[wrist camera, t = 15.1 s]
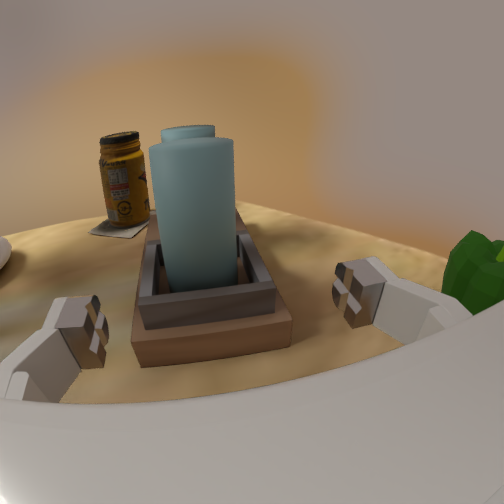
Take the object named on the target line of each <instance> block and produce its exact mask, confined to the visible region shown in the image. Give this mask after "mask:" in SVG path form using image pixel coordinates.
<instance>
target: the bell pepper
mask: <svg viewBox="0 0 504 504" xmlns="http://www.w3.org/2000/svg"><path fill="white" fill-rule="evenodd" d="M441 293H443V294H445V295H448V296H451V297H453V298H456V299H457V300H458V301H459V302H460V303H461V304H462V305H463V306H464V307H465V308H466V309H467V310H468V311H469V312H470V313H471V314H472V315H473V316H474V315H476V314H478V313H480V312H482V311H484V310H486V309H488V308H489V307H491V306H493V305H495V304H497V303H499V302H501V301H502V300H504V241H501V240H496V241H494V242H491V241H490V240H488V239H487V238H486V237H485V236H484V235H483V234H480V233H478V232H475V231H472V230H471V231H470V232H469V233H468V234H467V235H466V236H465V237H464V238H463V239H462V240H461V241H460V242H459V243H458V244H457V245H456V246H455V247H454V249H453V250H452V251H451V252H450V256H449V259H448V262H447V265H446V268H445V272H444V276H443V284H442V291H441Z"/></svg>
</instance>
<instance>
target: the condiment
mask: <svg viewBox="0 0 504 504" xmlns="http://www.w3.org/2000/svg"><path fill="white" fill-rule="evenodd" d="M100 146H101V149H100V153H101V157H100V160H99V165H100V172H101V179H102V186H103V192H104V197H105V202H106V208H107V213H108V219H107V220H105V221H103V222H102V223H101V224H99V225H98V226H97V227H95V228H93V229H92V230H91V231H89V232H88V233H92V234H97V235H103V236H111V237H122V238H123V237H126V238H132V237H133V236H134V235H135V234H136V233H137V232H138V231H139V230H141V229H142V228H143V227H144V226H146V225H147V224H148V223H149V219H150V215H153V214H156V211H154V210H152V211H150V206H149V197H148V188H147V180H146V172H145V163H144V155H143V152H142V150H141V149H140V141H139V132H136V131H130V132H122V133H117V134H112V135H108V136H105V137H102V138H101V139H100ZM128 229H129V230H128ZM125 230H126V231H125Z"/></svg>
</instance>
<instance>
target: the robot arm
mask: <svg viewBox="0 0 504 504" xmlns="http://www.w3.org/2000/svg"><path fill="white" fill-rule="evenodd" d="M335 274H336V276H337V277H338V278H337V279H336V281H335V282H334V283H333V288H332V296H333V300H334V303H335V305H336V306H337V308H338V309H340V310H342V311H344V312H345V313H344V318H345V319H346V321H347V322H348V324H349V325H350V326H351V328H352V329H354V328H359V327H363V326H367V325H371V324H373V326H375V327H376V328H378V329H380V330H381V331H383V332H385V333H386V334H388V335H389V336H391V337H393V338H394V339H396V340H398V341H399V342H401V343H403V344H404V345H405V346H402V347H400V348H397V349H394V350H391V351H389V352H386V353H383V354H380V355H377V356H374V357H371V358H368V359H365V360H362V361H359V362H356V363H353V364H349V365H346V366H343V367H339V368H336V369H332V370H329V371H325V372H321V373H318V374H314V375H310V376H306V377H302V378H298V379H294V380H290V381H285V382H281V383H276V384H272V385H267V386H262V387H257V388H252V389H246V390H241V391H235V392H229V393H223V394H216V395H209V396H202V397H194V398H186V399H176V400H166V401H154V402H139V403H117V404H70V403H59V401H60V400H61V398H62V397H63V395H64V394H65V393H66V391H67V390H68V389H69V387H70V386H71V384H72V383H73V382H74V380H75V379H76V378H77V376H78V375H79V373H80V372H81V369H96V368H104V364H105V357H106V351H105V349H104V346H105V345H106V344H107V343H108V339H109V330H108V324H107V320H106V318H105V315H103V314H102V313H101V312H100V311H99V309H100V305H101V304H100V302H99V300H98V297H97V296H96V295H83V296H70V297H59V298H56V299H54V301H53V303H52V305H51V308H50V310H49V312H48V315H47V317H46V319H45V322H44V324H43V326H42V329H41V330H37V331H36V332H34V333H33V334H32V335H31V336H30V337H29V338H27V339H26V340H25V341H24V342H23V343H22V344H21V345H19V346H18V347H17V348H16V349H15V350H14V351H13V352H12V353H10V354H9V355H8V356H7V357H6V358H5V359H4V360H3V361H2V362H1V363H0V504H504V300H502V301H501V302H499V303H497V304H495V305H493V306H491V307H489V308H488V309H486V310H484V311H482V312H480V313H478V314H476V315H474V316H473V315H472V314H471V313H470V312H469V311H468V310H467V309H466V308H465V307H464V306H463V305H462V304H461V303H460V302H459V301H458V300H457V299H456V298H453V297H451V296H448V295H445V294H443V293H440V292H438V291H435V290H433V289H430V288H427V287H425V286H422V285H420V284H417V283H414V282H412V281H409V280H406V279H404V278H402V279H399V278H398V277H397V276H396V275H395V274H394V273H393V272H392V271H391V270H390V269H389V268H388V267H387V266H386V265H385V264H384V263H383V262H381V261H380V260H379V259H378V258H377V257H374V256H372V257H367V258H362V259H358V260H353V261H347V262H341V263H338V264H337V266H336V270H335Z"/></svg>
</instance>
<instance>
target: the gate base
mask: <svg viewBox="0 0 504 504" xmlns="http://www.w3.org/2000/svg"><path fill="white" fill-rule="evenodd" d="M202 137H215V126H213V125H191V126H181V127H173V128H168V129H164V130H161V140H162V143H163V142H168V141H173V140H180V139H188V138H202ZM235 216H236V244H237V269H238V285H235V286H228V287H220V288H212V289H204V290H196V291H188V292H180V293H170V290H169V285H168V279H167V274H166V269H165V264H164V258H163V252H162V246H161V240H160V234H159V228H158V221H157V215H156V214H153V215H150V219H149V224H148V229H147V234H146V239H145V245H144V250H143V256H142V261H141V267H140V274H139V280H138V287H137V293H136V301H135V308H134V316H133V325H132V334H131V344H132V346H133V349H134V351H135V354H136V356H137V359H138V361H139V364H140V366H141V368H143V367H155V366H165V365H175V364H184V363H192V362H200V361H208V360H215V359H222V358H228V357H235V356H241V355H247V354H253V353H258V352H264V351H269V350H275V349H280V348H285V347H289V346H290V339H291V331H292V322H293V319H292V317H291V315H290V313H289V311H288V309H287V307H286V305H285V303H284V301H283V299H282V297H281V296H280V294H279V292H278V290H277V288H276V286H275V284H274V282H273V280H272V278H271V276H270V274H269V272H268V270H267V268H266V266H265V264H264V262H263V260H262V258H261V256H260V254H259V252H258V250H257V248H256V246H255V244H254V242H253V240H252V238H251V236H250V235H249V233H248V231H247V229H246V227H245V225H244V223H243V221H242V219H241V217H240V215H239V213H238V211H237V209H236V207H235Z"/></svg>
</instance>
